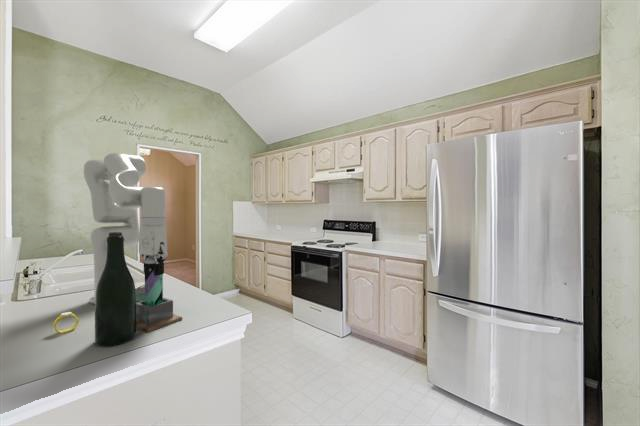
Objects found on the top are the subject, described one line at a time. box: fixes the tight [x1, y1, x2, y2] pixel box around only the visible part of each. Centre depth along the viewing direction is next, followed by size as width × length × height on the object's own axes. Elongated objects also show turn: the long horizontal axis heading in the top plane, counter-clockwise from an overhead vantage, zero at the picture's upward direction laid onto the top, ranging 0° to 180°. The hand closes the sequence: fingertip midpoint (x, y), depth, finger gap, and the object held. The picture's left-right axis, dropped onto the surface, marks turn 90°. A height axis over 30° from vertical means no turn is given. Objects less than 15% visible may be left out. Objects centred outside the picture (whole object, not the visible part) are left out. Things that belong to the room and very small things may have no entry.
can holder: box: [136, 297, 183, 333], centre depth 100 cm, size 14×12×7 cm
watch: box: [52, 311, 79, 334], centre depth 92 cm, size 6×3×6 cm, turn 141°
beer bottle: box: [94, 232, 138, 347], centre depth 87 cm, size 10×10×33 cm
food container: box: [135, 284, 145, 303], centre depth 111 cm, size 12×6×10 cm, turn 168°
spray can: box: [144, 256, 164, 306], centre depth 100 cm, size 6×6×20 cm
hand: (153, 273), depth 100 cm, fingers closed on spray can, 5 cm apart
